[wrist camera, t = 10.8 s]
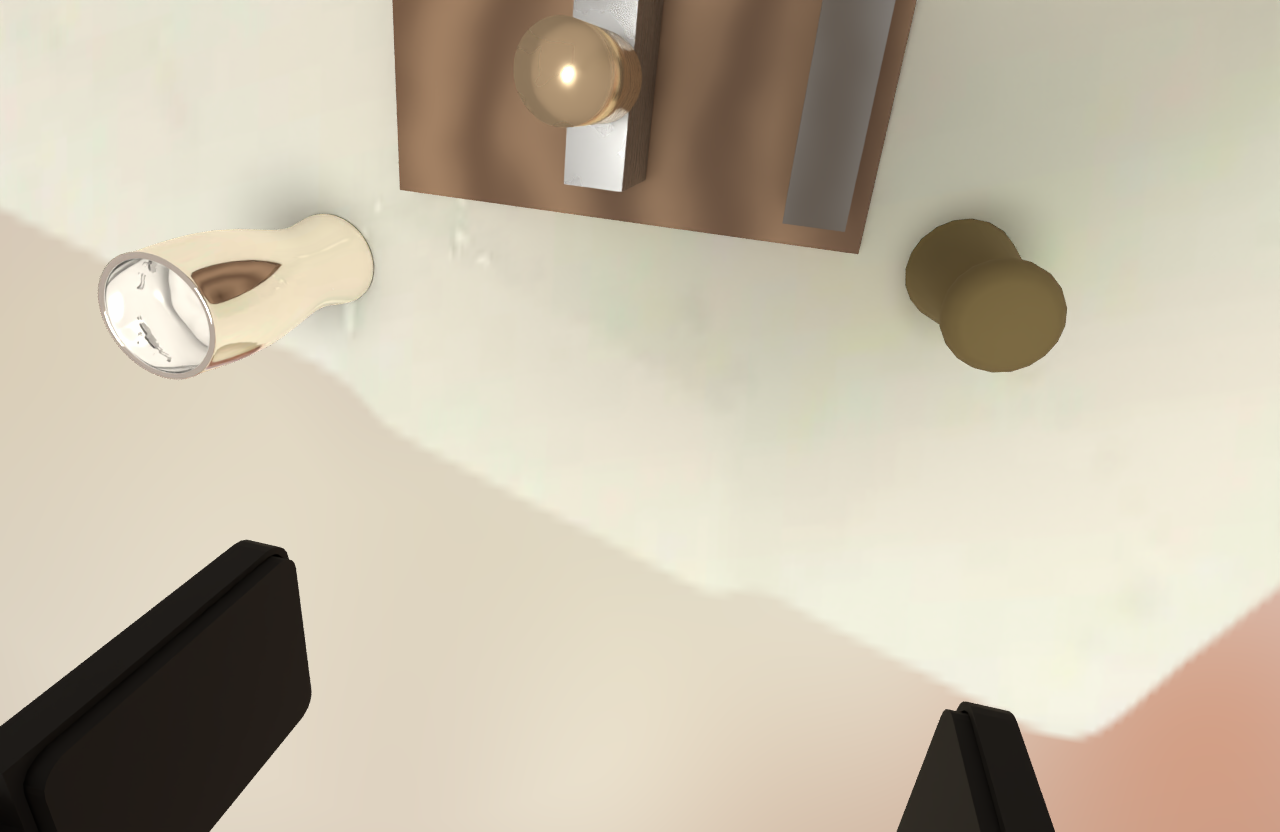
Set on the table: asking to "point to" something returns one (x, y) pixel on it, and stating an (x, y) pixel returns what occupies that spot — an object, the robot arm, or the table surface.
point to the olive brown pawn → (985, 296)
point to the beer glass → (228, 291)
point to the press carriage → (595, 86)
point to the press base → (668, 115)
